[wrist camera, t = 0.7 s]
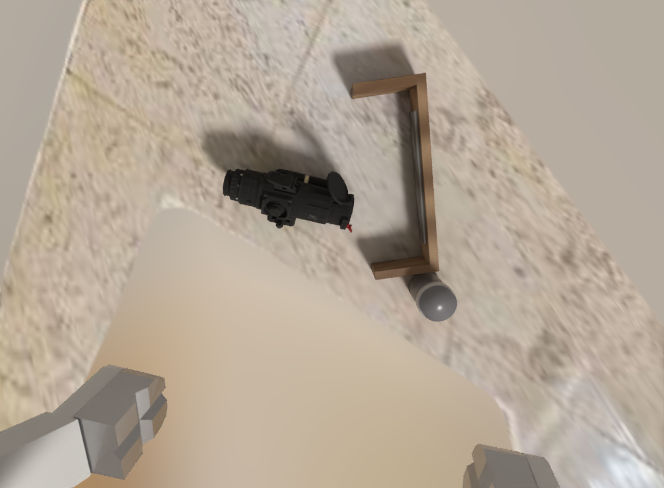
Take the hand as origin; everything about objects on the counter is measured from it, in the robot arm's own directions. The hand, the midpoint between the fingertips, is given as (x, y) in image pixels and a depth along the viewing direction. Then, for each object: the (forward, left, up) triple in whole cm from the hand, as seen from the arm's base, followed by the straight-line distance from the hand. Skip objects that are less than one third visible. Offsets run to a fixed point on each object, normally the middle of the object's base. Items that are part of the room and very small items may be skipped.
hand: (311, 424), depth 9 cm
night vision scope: (-2, -4, -44) cm, 44 cm away
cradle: (-2, +10, -43) cm, 45 cm away
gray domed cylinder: (+15, +14, -44) cm, 48 cm away
